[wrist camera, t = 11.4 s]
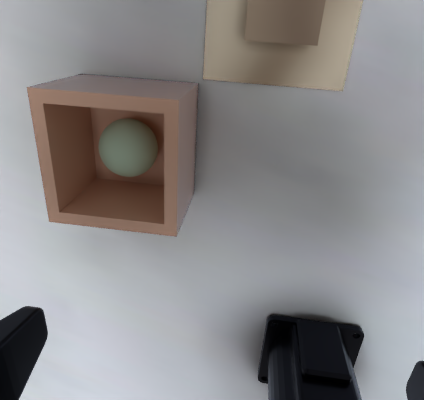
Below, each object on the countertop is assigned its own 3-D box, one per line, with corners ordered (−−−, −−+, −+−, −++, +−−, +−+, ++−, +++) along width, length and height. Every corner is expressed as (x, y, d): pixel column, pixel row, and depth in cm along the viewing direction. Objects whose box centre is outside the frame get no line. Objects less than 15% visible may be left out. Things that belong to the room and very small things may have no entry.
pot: (193, 193, 21) (176, 236, 17) (92, 182, 22) (49, 221, 17) (198, 83, 18) (178, 99, 14) (81, 74, 19) (26, 87, 15)
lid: (205, 77, 19) (194, 85, 16) (214, -87, 16) (203, -117, 13) (338, 88, 18) (355, 99, 15) (374, -80, 15) (405, -109, 12)
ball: (164, 167, 20) (149, 188, 17) (113, 162, 20) (91, 182, 18) (164, 115, 19) (148, 129, 16) (109, 110, 19) (85, 123, 16)
